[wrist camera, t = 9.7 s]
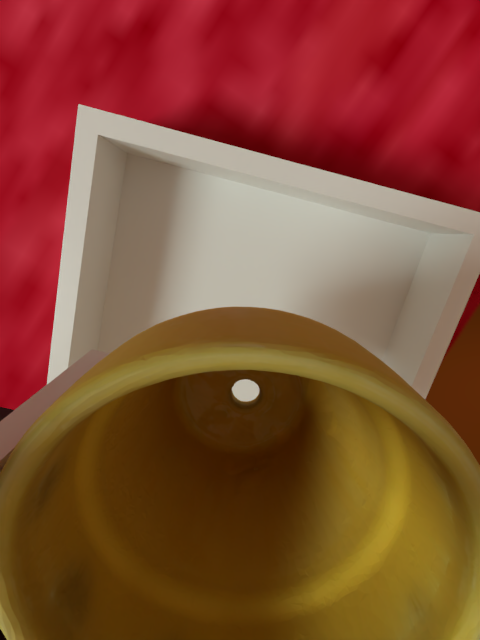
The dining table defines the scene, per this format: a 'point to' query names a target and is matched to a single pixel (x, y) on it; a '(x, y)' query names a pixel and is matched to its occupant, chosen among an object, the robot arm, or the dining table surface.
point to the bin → (251, 247)
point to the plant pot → (240, 495)
